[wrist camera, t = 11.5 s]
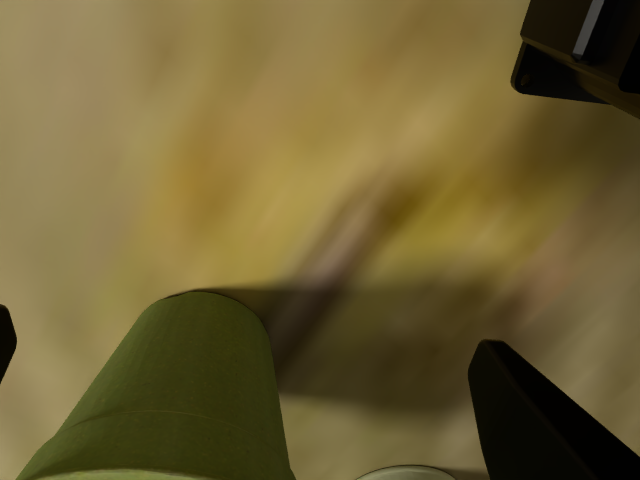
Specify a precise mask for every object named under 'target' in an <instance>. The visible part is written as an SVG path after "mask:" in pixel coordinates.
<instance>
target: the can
mask: <svg viewBox="0 0 640 480" xmlns="http://www.w3.org/2000/svg"><path fill="white" fill-rule="evenodd" d="M357 480H456V479H454V478H453V477H452V476H450V475H449V474H447V473H445V472H443V471H440V470H437V469H434V468H430V467H424V466H413V465H411V466H395V467H388V468H384V469H380V470H377V471H374V472H371V473H368V474H366V475H364V476H362V477H360V478H358V479H357Z"/></svg>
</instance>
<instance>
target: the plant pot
mask: <svg viewBox="0 0 640 480" xmlns="http://www.w3.org/2000/svg"><path fill="white" fill-rule="evenodd" d="M16 480H296V478H295V476H294V474H293V472H292V470H291V469H290V464H289V458H288V452H287V446H286V440H285V433H284V427H283V420H282V414H281V408H280V402H279V395H278V389H277V382H276V376H275V369H274V362H273V356H272V350H271V344H270V340H269V337H268V334H267V332H266V330H265V328H264V326H263V324H262V323H261V321H260V319H259V318H258V317H257V316H256V314H255V313H253V312H252V311H251V310H250V309H248V308H247V307H246V306H244V305H243V304H241V303H239V302H237V301H235V300H233V299H231V298H228V297H225V296H222V295H218V294H213V293H207V292H188V293H185V294H182V295H179V296H176V297H171V298H167V299H161V300H158V301H157V302H155V303H153V304H152V305H150V306H149V307H148V308H147V309H146V310H145V311H144V312H143V313H142V314H141V315H140V317H139V318H138V319H137V321H136V322H135V324H134V325H133V326H132V328H131V329H130V331H129V332H128V333H127V335H126V336H125V337H124V339H123V340H122V342H121V343H120V344H119V346H118V347H117V349H116V350H115V351H114V353H113V354H112V356H111V357H110V358H109V360H108V361H107V363H106V364H105V366H104V367H103V368H102V370H101V371H100V373H99V374H98V375H97V377H96V378H95V380H94V381H93V382H92V384H91V385H90V387H89V388H88V390H87V391H86V392H85V394H84V395H83V397H82V398H81V399H80V401H79V402H78V404H77V405H76V406H75V408H74V409H73V411H72V412H71V413H70V415H69V416H68V418H67V419H66V420H65V422H64V423H63V425H62V426H61V427H60V429H59V430H58V432H57V433H56V434H55V436H54V437H53V438H51V439H50V440H49V441H47V442H46V443H45V444H44V445H43V446H42V447H41V448H40V449H39V450H38V451H37V452H36V453H35V455H34V456H33V457H32V458H31V460H30V461H29V462H28V464H27V465H26V466H25V468H24V469H23V470H22V472H21V473H20V474H19V476H18V477H17V478H16Z"/></svg>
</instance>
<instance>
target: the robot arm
mask: <svg viewBox="0 0 640 480" xmlns="http://www.w3.org/2000/svg"><path fill="white" fill-rule="evenodd" d="M520 35H521V37H522V39H523V42H522V45H521V48H520V51H519V54H518V57H517V60H516V64H515V67H514V70H513V73H512V76H511V81H510V82H511V86H512V87H513V88H514V89H515V90H516V91H517V92H519V93H522V94H528V95H536V96H544V97H552V98H560V99H569V100H577V101H585V102H593V103H601V104H609V105H613V106H615V107H617V108H619V109H621V110H623V111H625V112H627V113H629V114H630V115H632V116H634V117H636V118H638V119H640V0H531V1H530V4H529V7H528V10H527V13H526V16H525V19H524V22H523V26H522V29H521V32H520ZM526 74H530V80H529V81H528V83H526V84H525V85H521V79H522V78H523V76H525V75H526ZM16 345H17V337H16V333H15V330H14V326H13V323H12V319H11V316H10V313H9V310H8V308H7V307H6V306H4V305H1V304H0V384H1V381H2V379H3V377H4V375H5V372H6V370H7V368H8V365H9V363H10V361H11V359H12V356H13V354H14V352H15V349H16ZM468 381H469V386H470V391H471V397H472V402H473V407H474V413H475V418H476V423H477V429H478V434H479V439H480V444H481V449H482V453H483V456H484V460H485V464H486V467H487V470H488V474H489V477H490V480H640V457H639V456H638V455H637V454H636V453H635V452H633V451H632V450H631V449H630V448H629V447H627V446H626V445H625V444H624V443H623V442H622V441H620V440H619V439H618V438H617V437H616V436H615V435H613V434H612V433H611V432H610V431H609V430H607V429H606V428H605V427H604V426H603V425H602V424H600V423H599V422H598V421H597V420H596V419H595V418H593V417H592V416H591V415H590V414H589V413H587V412H586V411H585V410H584V409H583V408H582V407H580V406H579V405H578V404H577V403H576V402H575V401H573V400H572V399H571V398H570V397H569V396H567V395H566V394H565V393H564V392H563V391H562V390H560V389H559V388H558V387H557V386H556V385H555V384H553V383H552V382H551V381H550V380H549V379H547V378H546V377H545V376H544V375H543V374H542V373H540V372H539V371H538V370H537V369H536V368H535V367H533V366H532V365H531V364H530V363H529V362H527V361H526V360H525V359H524V358H523V357H522V356H520V355H519V354H518V353H517V352H516V351H515V350H513V349H512V348H511V347H510V346H509V345H507V344H506V343H505V342H503V341H501V340H492V339H483V340H481V341H480V342H479V344H478V346H477V349H476V351H475V354H474V356H473V358H472V361H471V363H470V366H469V369H468Z"/></svg>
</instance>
